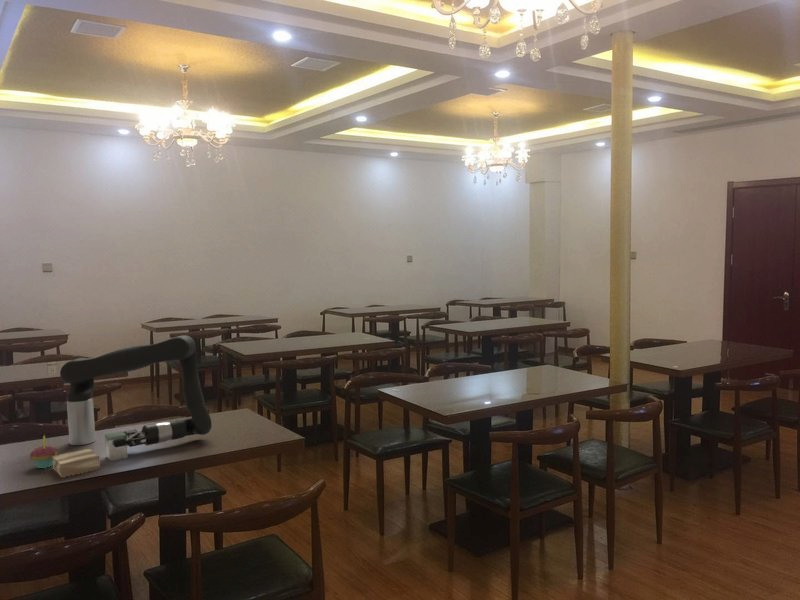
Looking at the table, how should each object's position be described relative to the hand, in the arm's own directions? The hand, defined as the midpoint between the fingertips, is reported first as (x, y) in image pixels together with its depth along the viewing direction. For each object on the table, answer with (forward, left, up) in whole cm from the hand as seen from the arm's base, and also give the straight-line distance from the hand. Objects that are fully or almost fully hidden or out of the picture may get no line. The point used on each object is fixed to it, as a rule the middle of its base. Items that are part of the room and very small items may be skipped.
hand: (111, 441), depth 234 cm
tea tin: (-1, +1, -6) cm, 6 cm away
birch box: (+11, -8, -6) cm, 15 cm away
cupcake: (+7, -21, -6) cm, 23 cm away
